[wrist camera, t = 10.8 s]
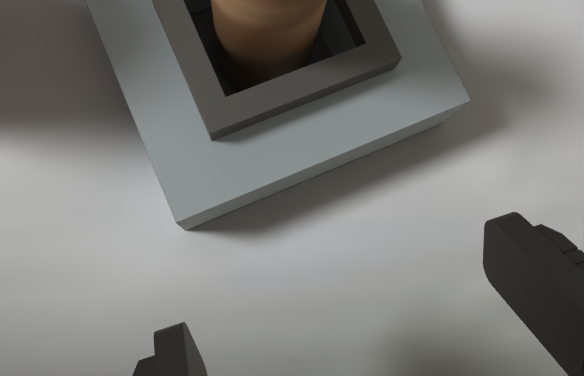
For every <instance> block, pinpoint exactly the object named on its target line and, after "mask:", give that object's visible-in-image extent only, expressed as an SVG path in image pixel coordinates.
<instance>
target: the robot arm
mask: <svg viewBox="0 0 584 376" xmlns="http://www.w3.org/2000/svg"><path fill="white" fill-rule="evenodd" d="M483 267H484V271H485V274H486V276H487V278H488V280H489V282H490V283H491V285H492V286H493V287H494V288H495V290H496V291H497V292H498V293H499V294H500V295H501V297H502V298H503V299H504V300H505V301H506V302H507V304H508V305H509V306H510V307H511V308H512V310H513V311H514V312H515V313H516V314H517V315H518V317H519V318H520V319H521V320H522V321H523V322H524V324H525V325H526V326H527V327H528V328H529V330H530V331H531V332H532V333H533V334H534V335H535V337H536V338H537V339H538V340H539V341H540V342H541V344H542V345H543V346H544V347H545V348H546V350H547V351H548V352H549V353H550V354H551V355H552V357H553V358H554V359H555V360H556V361H557V362H558V364H559V365H560V366H561V367H562V368H563V369H564V371H565V372H566V373H567V374H568V375H569V376H584V253H583V252H582V251H581V250H578V248H577V246H575V245H574V244H573V243H572V242H571V241H570V240H569V239H567V238H566V237H565V236H564V235H563V234H561V233H559V232H557V231H555V230H553V229H550V228H548V227H546V226H544V225H542V224H540V225H537V226H534V227H533V226H532V225H531V224H530V223H529V222H528V221H527V220H526V219H525V218H524V217H522V216H521V215H520V214H519V213H517V212H512V213H509V214H506V215H503V216H500V217H497V218H494V219H491V220H488V221H486V223H485V226H484V248H483ZM154 349H155V355H154V356H151V357H148V358H145V359H142V360H139V361H138V363H137V366H136V368H135V371H134V373H133V376H208V375H207V371H206V368H205V365H204V362H203V360H202V357H201V355H200V353H199V351H198V349H197V346H196V344H195V342H194V340H193V338H192V335H191V333H190V331H189V329H188V327H187V325H186V323H185V322H182V323H179V324H176V325H173V326H170V327H167V328H164V329H161V330H158V331H155V332H154Z"/></svg>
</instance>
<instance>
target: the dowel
mask: <svg viewBox="0 0 584 376" xmlns="http://www.w3.org/2000/svg"><path fill="white" fill-rule="evenodd" d="M326 2H327V0H211V5H212V13H213V21H214V28H215V36H216V44H217V52H218V59H219V64H220V67H221V70H222V72H223V73H224V75H225V77H226V78H227V79H228V81H229V82H230V83H231V84H232V85H233V86H235V87H236V88H237V89H239V90H240V91H243V90H246V89H248V88H251V87H254V86H256V85H259V84H261V83H264V82H267V81H269V80H272V79H274V78H277V77H280V76H282V75H285V74H288V73H290V72H293V71H295V70H298V69H301V68H303V67H306V66H308V64H309V61H310V57H311V54H312V50H313V47H314V43H315V40H316V36H317V33H318V29H319V26H320V23H321V19H322V16H323V12H324V9H325V5H326Z"/></svg>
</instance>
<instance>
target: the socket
mask: <svg viewBox="0 0 584 376" xmlns="http://www.w3.org/2000/svg"><path fill="white" fill-rule="evenodd" d="M85 1H86V3H87V6H88V8H89V11H90V13H91V16H92V18H93V21H94V23H95V26H96V28H97V30H98V33H99V35H100V38H101V40H102V43H103V45H104V48H105V50H106V52H107V55H108V57H109V60H110V62H111V65H112V67H113V70H114V72H115V75H116V77H117V79H118V82H119V84H120V87H121V89H122V92H123V94H124V97H125V99H126V102H127V104H128V106H129V109H130V111H131V114H132V116H133V119H134V121H135V124H136V126H137V129H138V131H139V133H140V136H141V138H142V141H143V143H144V146H145V148H146V151H147V153H148V156H149V158H150V160H151V163H152V165H153V168H154V170H155V173H156V175H157V178H158V180H159V182H160V185H161V187H162V190H163V192H164V195H165V197H166V200H167V202H168V205H169V207H170V209H171V212H172V214H173V217H174V219H175V222H176V223H177V224H178V225H179V226H181V227H182V228H183V229H184V230H185V231H186V230H188V229H191V228H193V227H195V226H198V225H200V224H203V223H205V222H207V221H210V220H212V219H215V218H217V217H219V216H222V215H224V214H226V213H229V212H231V211H234V210H236V209H238V208H241V207H243V206H246V205H248V204H250V203H253V202H255V201H258V200H260V199H262V198H265V197H267V196H269V195H272V194H274V193H277V192H279V191H281V190H284V189H286V188H289V187H291V186H293V185H296V184H298V183H300V182H303V181H305V180H308V179H310V178H312V177H315V176H317V175H320V174H322V173H324V172H327V171H329V170H332V169H334V168H336V167H339V166H341V165H343V164H346V163H348V162H351V161H353V160H355V159H358V158H360V157H363V156H365V155H367V154H370V153H372V152H374V151H377V150H379V149H382V148H384V147H386V146H389V145H391V144H394V143H396V142H398V141H401V140H403V139H406V138H408V137H410V136H413V135H415V134H417V133H420V132H422V131H425V130H427V129H429V128H432V127H434V126H437V125H439V124H441V123H443V122H444V121H445V120H447V119H448V118H449V117H450V116H452V115H453V114H454V113H455V112H457V111H458V110H459V109H460V108H462V107H463V106H464V105H465V104H467V103H468V102H469V101H470V100H471V99H470V97H469V95H468V93H467V91H466V89H465V87H464V85H463V83H462V81H461V79H460V77H459V75H458V73H457V71H456V69H455V67H454V65H453V63H452V61H451V59H450V57H449V55H448V53H447V51H446V49H445V47H444V45H443V43H442V41H441V39H440V37H439V35H438V33H437V31H436V29H435V27H434V25H433V23H432V21H431V19H430V17H429V15H428V13H427V11H426V9H425V7H424V5H423V3H422V1H421V0H327V2H326V5H325V9H324V12H323V16H322V19H321V23H320V26H319V29H320V31H321V33H322V35H323V38H324V40H325V42H326V44H327V46H328V48H329V50H330V52H331V55H332V57H329V58H327V59H324V60H322V61H319V62H316V63H314V64H311V65H308V66H306V67H303V68H301V69H298V70H295V71H293V72H290V73H288V74H285V75H282V76H280V77H277V78H274V79H272V80H269V81H267V82H264V83H261V84H259V85H256V86H254V87H251V88H248V89H246V90H243V91H240V92H238V93H235V94H233V95H230V96H227V97H225V95H224V92H223V90H222V88H221V86H220V83H219V81H218V79H217V76H216V74H215V72H214V69H213V67H212V65H211V63H210V60H209V58H208V56H207V53H206V51H205V49H204V46H203V44H202V42H201V40H200V37H199V35H198V33H197V30H196V28H195V26H194V24H193V21H192V19H191V17H190V14H191V13H194V12H197V11H200V10H203V9H206V8H208V7H211V6H212V5H211V0H85Z"/></svg>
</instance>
